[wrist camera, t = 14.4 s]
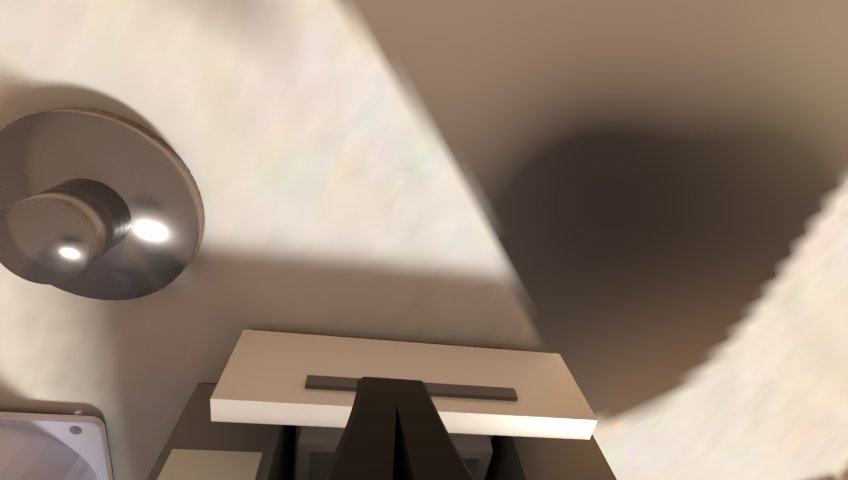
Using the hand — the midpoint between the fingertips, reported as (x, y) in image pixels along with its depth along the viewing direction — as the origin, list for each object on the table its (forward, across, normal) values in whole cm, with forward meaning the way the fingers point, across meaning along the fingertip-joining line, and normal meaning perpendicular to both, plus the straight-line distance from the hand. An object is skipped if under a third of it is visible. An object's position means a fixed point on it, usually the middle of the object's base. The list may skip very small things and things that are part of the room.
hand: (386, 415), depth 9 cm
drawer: (+9, -2, +13) cm, 16 cm away
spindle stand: (+9, +10, 0) cm, 14 cm away
